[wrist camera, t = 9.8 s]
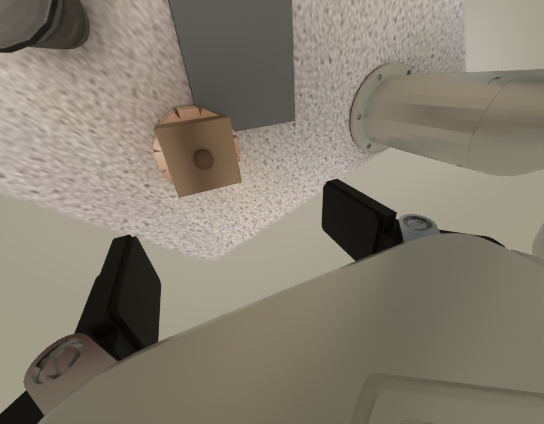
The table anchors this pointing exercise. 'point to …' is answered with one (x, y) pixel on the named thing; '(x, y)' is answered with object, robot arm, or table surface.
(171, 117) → the bowl
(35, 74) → the table surface
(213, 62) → the mat
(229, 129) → the lid
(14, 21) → the beverage cup
